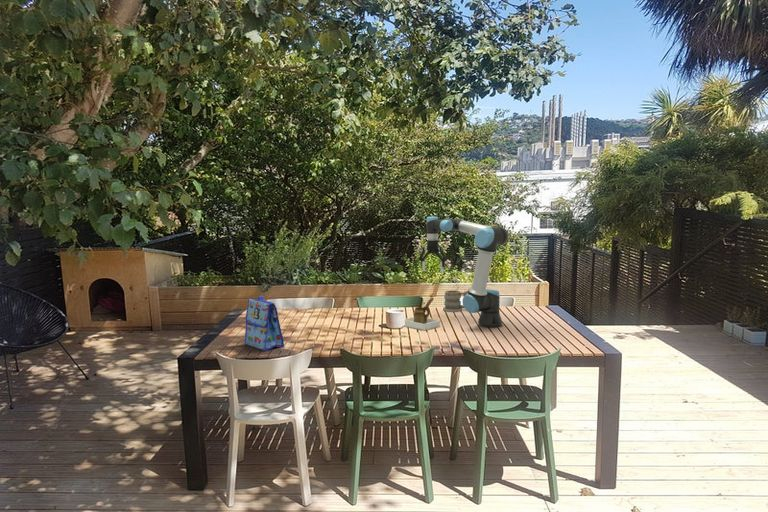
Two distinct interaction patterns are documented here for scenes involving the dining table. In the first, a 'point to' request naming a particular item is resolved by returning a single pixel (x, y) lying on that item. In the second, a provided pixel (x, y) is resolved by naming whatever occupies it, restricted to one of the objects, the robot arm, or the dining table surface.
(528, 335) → the dining table surface
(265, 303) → the lunch bag
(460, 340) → the dining table surface
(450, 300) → the tankard
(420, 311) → the wooden mug
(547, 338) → the dining table surface
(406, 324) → the mug tray
